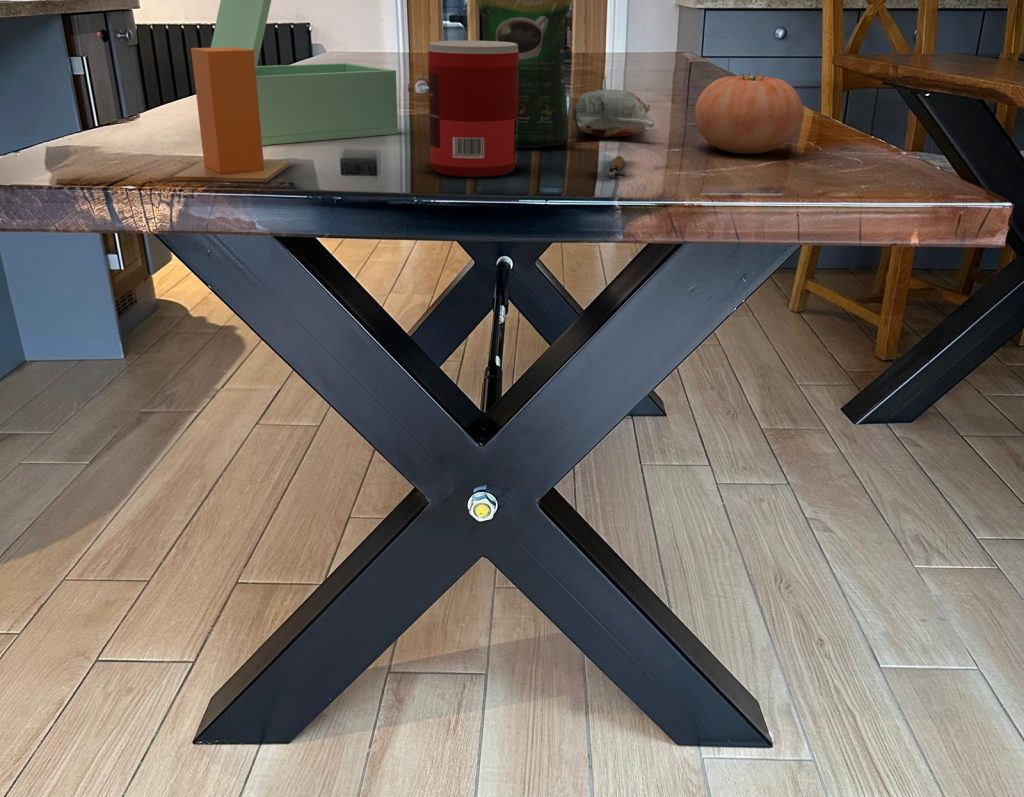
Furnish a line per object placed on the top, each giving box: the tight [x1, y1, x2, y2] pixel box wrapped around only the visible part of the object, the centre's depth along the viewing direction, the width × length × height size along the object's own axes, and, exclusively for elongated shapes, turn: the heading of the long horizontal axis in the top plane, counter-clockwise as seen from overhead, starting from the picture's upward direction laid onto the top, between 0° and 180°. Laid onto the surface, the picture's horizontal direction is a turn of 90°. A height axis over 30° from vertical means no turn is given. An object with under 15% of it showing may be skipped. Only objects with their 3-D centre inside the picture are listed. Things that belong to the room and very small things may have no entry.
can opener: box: [602, 155, 627, 181], centre depth 88 cm, size 9×2×1 cm, turn 163°
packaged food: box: [572, 88, 655, 138], centre depth 108 cm, size 9×12×5 cm
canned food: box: [427, 40, 519, 178], centre depth 86 cm, size 8×8×11 cm
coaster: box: [172, 159, 290, 183], centre depth 85 cm, size 8×8×1 cm
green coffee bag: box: [476, 0, 572, 149], centre depth 99 cm, size 10×8×19 cm
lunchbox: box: [256, 62, 399, 146], centre depth 106 cm, size 17×12×7 cm
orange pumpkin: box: [694, 71, 804, 155], centre depth 98 cm, size 11×11×8 cm
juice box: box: [190, 47, 265, 174], centre depth 83 cm, size 4×4×10 cm
